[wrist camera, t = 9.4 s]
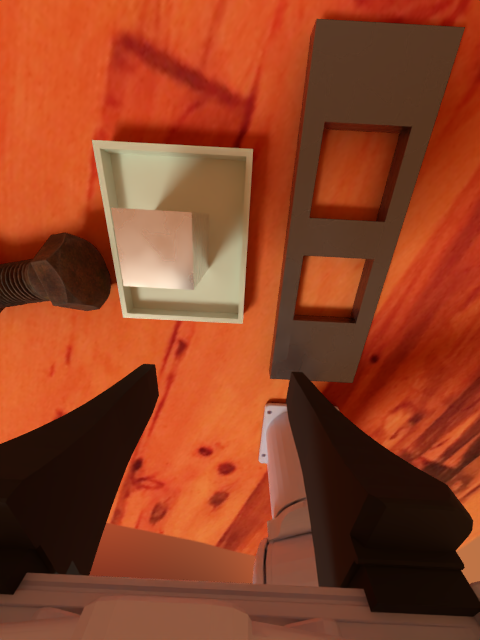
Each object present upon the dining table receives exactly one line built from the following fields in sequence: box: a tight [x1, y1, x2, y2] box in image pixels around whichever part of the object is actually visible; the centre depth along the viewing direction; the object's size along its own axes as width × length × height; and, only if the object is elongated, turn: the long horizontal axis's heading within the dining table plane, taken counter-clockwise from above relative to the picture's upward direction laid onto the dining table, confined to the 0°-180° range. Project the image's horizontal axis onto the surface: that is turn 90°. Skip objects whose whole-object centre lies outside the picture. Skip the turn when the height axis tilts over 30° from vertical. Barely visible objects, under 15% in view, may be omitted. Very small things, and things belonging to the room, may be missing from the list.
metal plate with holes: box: [269, 19, 465, 383], centre depth 18 cm, size 24×8×1 cm, turn 177°
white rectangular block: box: [111, 208, 209, 290], centre depth 15 cm, size 4×4×6 cm
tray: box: [92, 140, 253, 324], centre depth 17 cm, size 12×10×2 cm
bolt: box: [0, 233, 111, 313], centre depth 18 cm, size 6×5×15 cm
